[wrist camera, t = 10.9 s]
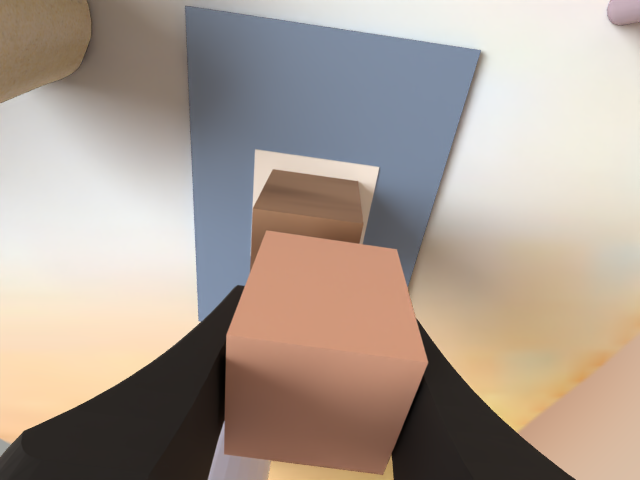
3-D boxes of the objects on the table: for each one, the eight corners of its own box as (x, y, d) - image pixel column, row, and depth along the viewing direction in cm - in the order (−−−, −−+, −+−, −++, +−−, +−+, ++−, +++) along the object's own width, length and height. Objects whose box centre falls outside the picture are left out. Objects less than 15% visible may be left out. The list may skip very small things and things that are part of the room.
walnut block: (344, 253, 21) (345, 309, 17) (267, 243, 21) (248, 296, 17) (358, 181, 19) (363, 223, 15) (272, 169, 19) (252, 208, 15)
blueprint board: (388, 342, 25) (389, 347, 25) (200, 317, 25) (198, 322, 24) (477, 50, 16) (481, 50, 16) (188, 6, 16) (184, 5, 16)
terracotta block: (369, 344, 15) (383, 474, 10) (258, 329, 14) (224, 454, 10) (396, 249, 12) (428, 362, 8) (266, 230, 12) (226, 335, 8)
